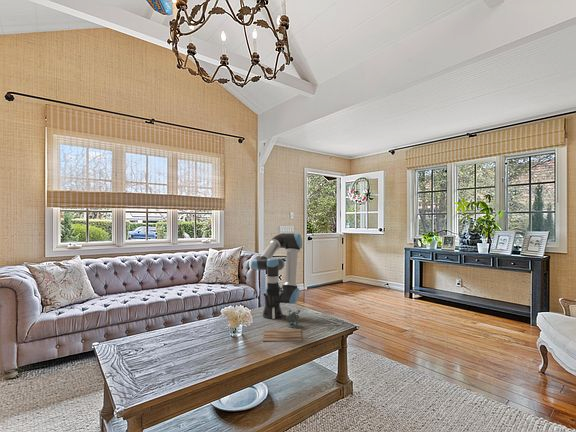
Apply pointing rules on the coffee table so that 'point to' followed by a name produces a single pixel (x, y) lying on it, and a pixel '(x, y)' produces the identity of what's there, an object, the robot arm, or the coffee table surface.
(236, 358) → the coffee table surface
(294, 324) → the figurine
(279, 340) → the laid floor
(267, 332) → the plank
